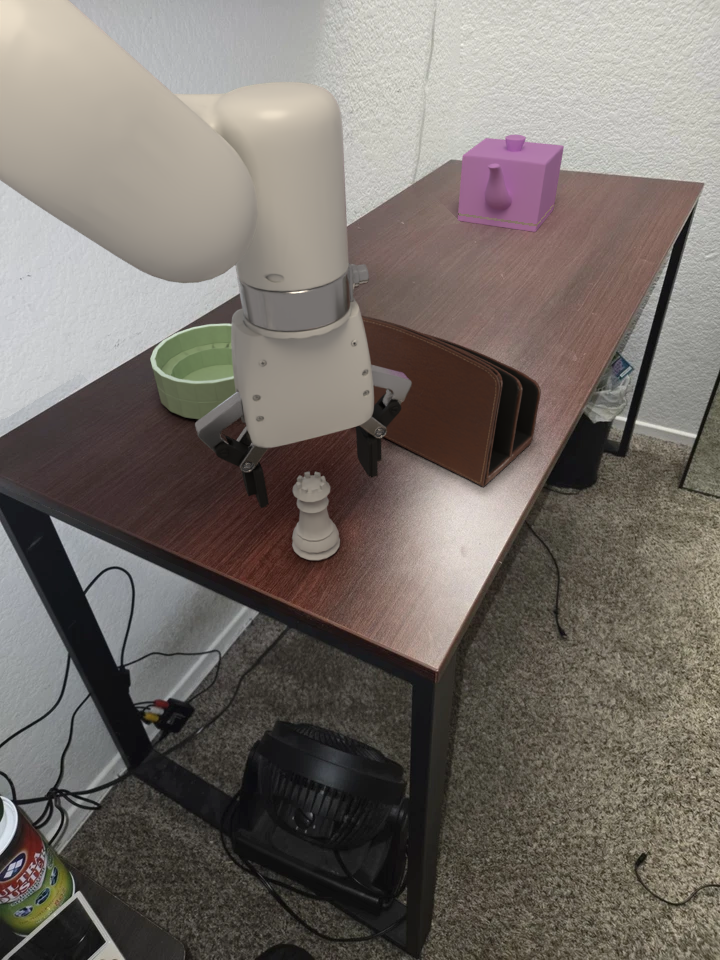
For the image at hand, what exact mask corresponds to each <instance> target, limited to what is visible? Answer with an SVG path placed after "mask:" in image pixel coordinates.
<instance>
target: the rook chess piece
mask: <svg viewBox="0 0 720 960" xmlns="http://www.w3.org/2000/svg"><path fill="white" fill-rule="evenodd" d="M330 493H331V485H330V483H329V482H328V481H327V480H326V477H325V475H322V476H321V472H318V471H314V475H311V472H310V471H305V472H303V476H302V475H301V474H299V475H298V476H297V478H296V482H295V484H294V485H293V486H292V494H293V496H294V497H295V498H296V506H297V509H299V516H298V522H297V523H296V525H295V527H294V528H293V532H292V537H291V540H292V542H291V543H292V544H291V546H292V549H293V552H295V554H296V555H298V556H299V557H300V558H302V559H304V560H307V561H309V562H320V561H324V560H327V559H329V558H330V557H331V556H333V555H334V554H336V552H337V551H338V549H339V548H340V545H341V539H340V533H339V530H338V528H337V525H336V524H335V522H333V520H332V519H331V518H330V515H329V511H328V507H329V502H330V500H329V498H328V495H330Z"/></svg>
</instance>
